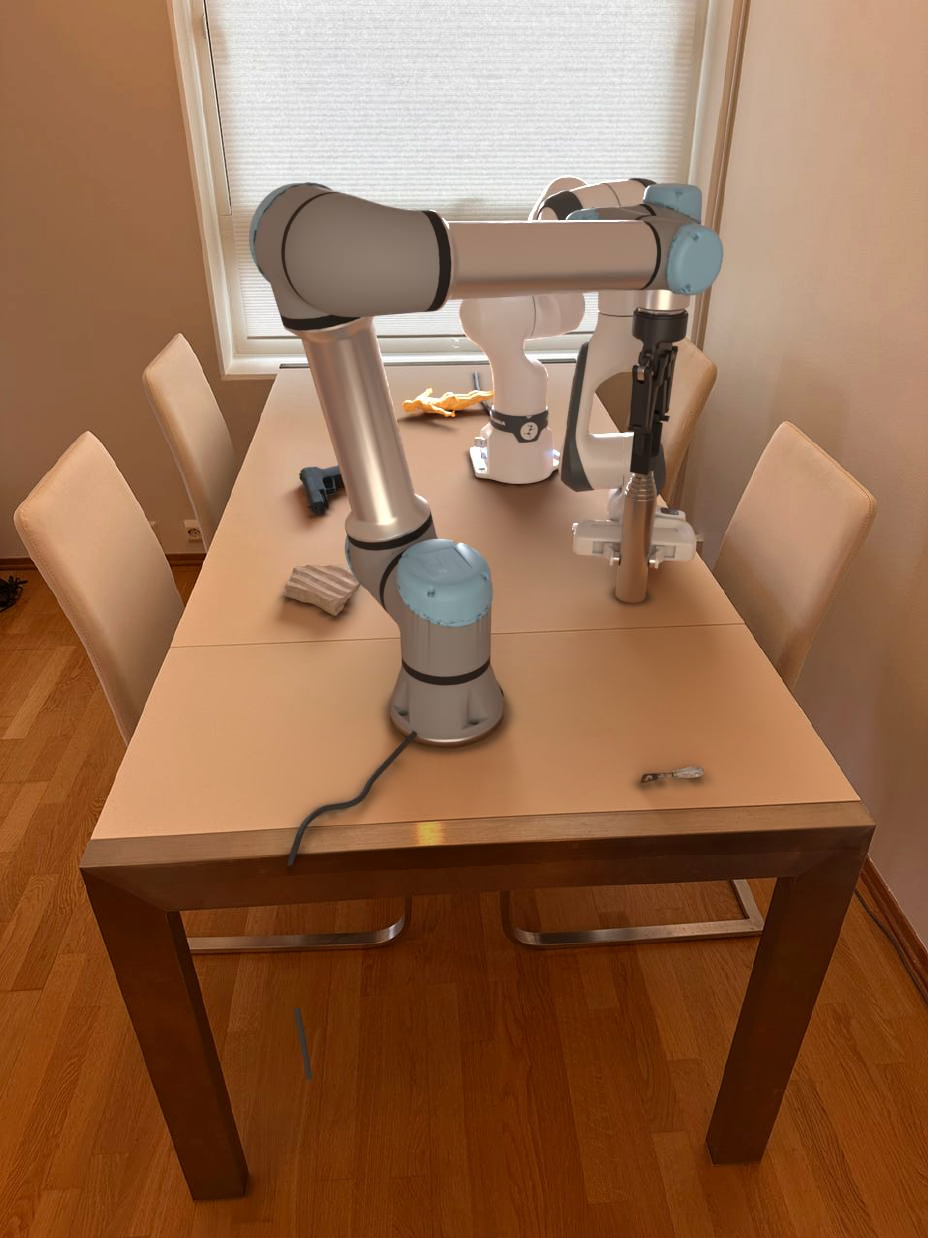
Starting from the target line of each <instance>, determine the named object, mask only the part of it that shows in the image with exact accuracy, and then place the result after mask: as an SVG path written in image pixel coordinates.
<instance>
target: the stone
mask: <svg viewBox="0 0 928 1238" xmlns="http://www.w3.org/2000/svg"><path fill="white" fill-rule="evenodd" d="M360 586H361V584H360V583H359V582H358V581H357V580H356V578H355V577H354V575H353V574H352V572H351V569H350V567H347V566H344V565H342V564H341V565H340V564H329V565H320V564H306V565H296V566H294V567H293V569H292V572H291V575H290V578H289V580H288V582H287V583H286V584H285V585H284V593H283V596H284V597H286V598H290V599H293V600H297V601H300V603H308V604H311V605H314V606H316V607H319V608H320V609H321V610H323V611H325V612H326V613H328V614H330V615H331V616H335V617H337V616H338V615H339V613H340V612H342V611H343V610H344V608H345V604H346V602H347V601H348V600H349V599H350V598H351V596H352V595H353V594H355V593H356V592H357V591H358V589H359V588H360Z"/></svg>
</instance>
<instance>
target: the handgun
mask: <svg viewBox="0 0 928 1238" xmlns="http://www.w3.org/2000/svg"><path fill="white" fill-rule="evenodd" d="M298 475H299V480H300V481H301V482H302V485H303V488H304V493H305V495H306V499H307V500H308V505H306V508H308V509H310V510H311V512H312V514H314V515H322V514H324V513H325V508H326V509H327V511H328V510H329V509H330V507H329V506H330V505H329V498H328V496H332V495H335V494H336V492H337V491H336V488H340V487H345V486H344V482H343V479H342V476H341V472H340V469H339V465H338V464H337V465H333V466H330V467H326V468H320V467H318V466H308V467H303V468H302V469H301V470H300V472H298Z"/></svg>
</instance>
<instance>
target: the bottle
mask: <svg viewBox="0 0 928 1238" xmlns="http://www.w3.org/2000/svg"><path fill="white" fill-rule="evenodd" d="M656 501H657V502H658V497H657V489H656V485H655V480H654V476H653V475H652V471H650V472H649V474H648V475H643V474H637V473H634V474H633V477H632V478H631V481H630V482H629V485H628V487H627V489H626V492H625V501H624V511H623V521H622V531H621V541H620V551H619V566H617V572H616V583H615V591H614V592H615V593H614V594H615V597H616V598H617V599H618V600H619V601H622V602H625V603H628V604H630V603H631V604H633V603H635V604H636V603H640V602H642V601H644V600H645V598H646V592H647V583H648V575H649V569H650V568H649V559H650V551H651V543H652V535H653V526H654V518H655V510H656Z"/></svg>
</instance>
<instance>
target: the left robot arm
mask: <svg viewBox="0 0 928 1238" xmlns="http://www.w3.org/2000/svg"><path fill="white" fill-rule="evenodd" d="M642 201H643V203H642V204H638V205H633V206H618V207H603V208H595V207H591V208H590V209H585V210H578V211H574V212H572V213H571V214H570V215H569V216H568V217H567V218H566V220H565V221H528V220H484V221H483V220H481V221H478V220H473V221H472V220H471V221H470V220H469V221H466V220H465V221H464V220H462V221H451V220H449V221H447V220H445V219H444V217H443V216H442V215H441V213H439V212H438V211H435V210H432V209H430V210H429V209H427V210H426V209H424V210H421V209H420V210H419V209H408V208H400V207H394V206H389V205H386V204H382V203H379V202H376V201H373V200H368V199H366V198H362V197H360V196H357V195H354V194H350V193H345V192H341V191H338V190H334V189H332V188H330V187H328V186H327V185H325V184H322V183H318V182H312V181H311V182H310V181H305V182H291V183H288V184H284V185H281V186H279V187H277V188H275V189H273V190H272V191H271V192H269V193H268V194H267V195H266V196H264V198H263V199H262V200H261V201H260V202H259V204H258V206H257V207H256V209H255V211H254V214H253V216H252V217H251V221H250V225H249V231H248V232H249V233H248V244H249V251H250V254H251V257H252V260H253V263H254V265H255V266H256V267H257V269H258V272H259V273H260V274H261V276H262V277H263V279H265V280H266V281H267V282H268V283H269V284H270V287H271V290H272V295H273V297H274V301H275V304H276V307H277V311H278V313H279V316H280V319H281V322H282V326H283V328H284V330H286V331H288V332H289V333H291V334H293V335H295V336H296V337H298V338H300V340H301V342H302V346H303V347H302V348H303V351H304V354H305V357H306V361H307V364H308V367H309V371H310V374H311V378H312V380H313V381H312V382H313V384H314V387H315V391H316V395H317V397H318V401H319V404H320V408H321V411H322V415H323V418H324V421H325V424H326V429H327V431H328V434H329V438H330V442H331V445H332V449H333V452H334V455H335V458H336V462H337V465H339V469H340V472H341V476H342V479H343V482H344V486H343V487H344V489H345V493H346V496H347V499H348V503H349V506H350V509H351V511H350V512H349V513H348V515H347V517H346V518H345V521H344V530H345V533H346V536H345V541H344V554H345V560H346V562H347V565H348V568H350V569H351V572H352V574H353V575H354V577H355V578H356V580H357V581H358V582H359V583H360V586H361V587H363V588H364V589H365V590H367V591H368V592H369V594H370V595H371V596H372V598H373V599H374V600H375V601H376V602H377V603H378V604H379V605H380V606H381V607H382V609H383V610H384V611H385V612H386V613H387V614H388V615H389V617H390V618H392V620H393V621H394V622H395V623H396V625H397V626H398V630H399V633H400V634H399V635H400V655H401V667H400V669H399V672H398V675H397V678H396V681H395V684H394V687H393V690H392V693H391V696H390V718H391V721H392V724H393V725H394V727H395V728H396V729H397V731H398V732H399V733H400V734H402V735H403V736H404V737H406V738H405V739H404V740H403V741H402V742H401V743H400V744H399V745H398V747H397V748H396V749H395V750H393V752H392V753H391V754H390V755H389V756H388V757H387V758H386V759H385V760H384V761H383V762H382V764H380V766H379V767H378V768H377V769H376V770H375V771H374V772H373V774H371V775H370V777H369V778H368V780H367V781H366V783H365V785H364V786H363V789H362V791H360V794H358V795H357V796H356V797H355V798H352V799H351V800H348V801H342V802H336V803H329V804H325V805H322V806H319V807H318V808H316V809H315V810H313V811H312V812H311V813H309V814H308V815H307V816H306V817H305V818H304V820H303V821H302V822H301V823H300V825H299V828H298V829H297V832H296V834H295V837H294V840H293V843H292V845H291V850H290V852H289V855H288V858H287V862H286V866H287V867H291V866H293V865H294V864H295V861H296V857H297V854H298V852H299V848H300V845H301V842H302V839H303V836H304V833H305V831H306V829H307V827H308V826H309V825H310V824H311V823H313V821H314V820H315V819H316V818H317V817H319V816H320V815H322V814H323V813H326V812H330V811H337V810H343V809H348V808H351V807H354V806H357V805H358V804H360V803H361V802H362V801H363V800H365V799H366V797H367V795H368V794H369V792H370V790H371V788H372V786H373V784H374V783H375V782H376V781H377V779H379V777H380V776H381V775H382V774H383V772H384V771H385V770H387V768H388V767H389V766H390V765H391V764H392V763H393V762H394V761H395V760H396V759H397V758H398V757H399V755H400V754H401V753H402V752H403V751H404V750H405V749H406V748H407V747H408V746H409V745H410V743H412V741H413V742H415V743H417V744H420V745H421V744H422V745H425V746H430V747H437V748H454V747H455V748H457V747H463V746H467V745H471V744H473V743H476V742H480V741H481V740H483V739H485V738H486V737H488V736H489V735H491V734H492V733H493V732H494V731H495V730H496V729H498V727H499V726H500V724H501V722H502V720H503V717H504V698H505V694H504V690H503V688H502V687H501V684H500V683H499V681H498V679H497V677H496V674H495V672H494V668H493V666H492V664H491V654H492V653H491V651H492V649H491V648H492V647H491V645H492V602H493V599H494V590H493V582H492V574H491V568H490V565H489V563H488V561H487V560H486V558H485V557H484V555H482V554H481V553H480V552H479V551H478V550H477V549H475V548H474V547H473V546H470V545H468V544H466V543H464V542H459V543H455V540H452V539H446V538H439V537H438V535H437V531H436V527H435V523H434V518H433V515H432V510H431V506H430V503H429V502H428V500H427V499H425V498H424V497H422V496H420V495H418V494H416V493H415V488H414V485H413V480H412V476H411V472H410V468H409V464H408V463H409V462H408V460H407V456H406V452H405V447H404V443H403V439H402V435H401V431H400V427H399V423H398V419H397V414H396V410H395V406H394V402H393V397H392V394H391V389H390V387H389V382H388V378H387V374H386V373H387V372H386V369H385V366H384V365H385V364H384V361H383V357H382V356H383V355H382V352H381V349H380V348H381V347H380V344H379V340H378V337H377V332H376V328H375V324H374V319H375V318H376V317H379V316H380V317H381V316H392V315H393V316H394V315H403V314H405V315H406V314H415V313H432V312H438V311H440V310H442V309H443V308H444V307H445V305H446V304H447V303H448V302H449V301H462V300H463V299H482V298H501V297H520V296H539V295H558V294H577V293H583V294H594V293H595V294H596V293H598V292H615V291H634V290H635V297H634V304H635V306H637V307H638V308H636V309H635V310H634V312H633V322H632V335H633V337H634V338H636V339H638V340H641V341H642V342H643V347H642V351H641V352H640V353H639V358H638V365H634V366H633V367H632V368H631V376H632V377H631V378H632V386H631V397H630V411H629V412H630V413H629V420H628V421H629V422H628V426H627V431H628V432H631V433H633V432H634V434H633V444H632V454H631V464H630V472H632V473H637V474H643V475H648V474H649V466H650V457H651V450H654V451H656V452H658V457H659V452H660V443H662V434H663V425H664V423H663V422H666V423H669V421H670V418H671V415H668V413H669V412H670V405H671V396H672V390H673V383H674V382H673V381H674V374H675V366H676V360H677V356H678V352H679V346H678V345H673V344H674V343H678V342H681V341H683V340H684V339H685V338H686V336H687V331H688V322H689V312H688V310H687V308H688V307H690V306H691V305H690V304H691V297H692V296H696V295H700V294H702V293H704V292H705V291H707V290H708V289H710V288H711V286H712V285H713V284H714V283H715V281H716V280H717V278H718V276H719V275H720V272H721V269H722V266H723V262H724V255H725V254H724V245H723V241H722V239H721V237H720V235H719V234H718V233H717V231H715V230H714V229H713V228H711V227H709V226H705V225H703V224H702V210H703V209H702V208H703V192H702V190H701V189H700V187H698V186H697V185H693V184H688V183H676V182H672V183H671V182H667V183H662V182H661V183H657V184H654V185H650V186H648V187H647V188H646V190H645V194H644V199H643V200H642ZM666 414H667V415H666ZM658 460H659V458H658ZM293 1013H294V1014H293V1015H294V1019H295V1022H296V1028H297V1034H298V1038H299V1043H300V1048H301V1053H302V1060H303V1065H304V1072H305V1079H306V1080H307V1081H310V1080H312V1079H313V1076H312V1069H311V1061H310V1054H309V1050H308V1048H309V1047H308V1043H307V1038H306V1034H305V1028H304V1023H303V1018H302V1013H301V1008H300V1007H297V1008H294V1009H293Z"/></svg>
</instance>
